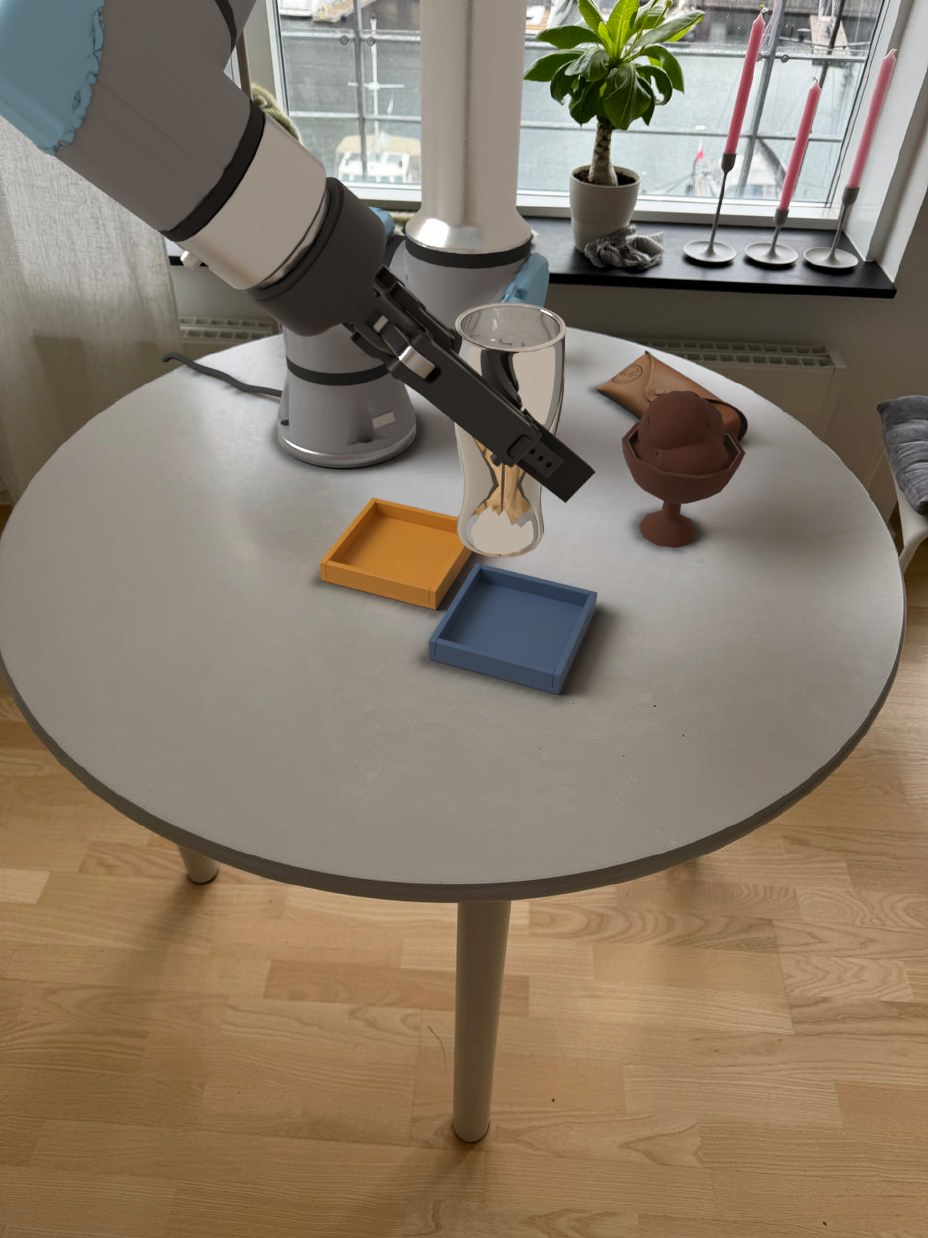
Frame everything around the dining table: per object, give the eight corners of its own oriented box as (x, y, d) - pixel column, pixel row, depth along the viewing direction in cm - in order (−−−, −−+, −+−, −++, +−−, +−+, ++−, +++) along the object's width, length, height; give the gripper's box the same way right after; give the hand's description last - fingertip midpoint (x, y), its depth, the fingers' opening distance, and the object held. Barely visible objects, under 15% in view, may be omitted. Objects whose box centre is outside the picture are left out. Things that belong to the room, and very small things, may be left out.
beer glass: (446, 505, 69) (446, 301, 59) (542, 501, 69) (559, 298, 60) (454, 565, 64) (456, 352, 54) (558, 560, 64) (579, 349, 54)
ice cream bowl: (725, 570, 89) (760, 427, 80) (605, 554, 91) (624, 412, 81) (725, 507, 97) (757, 369, 87) (614, 493, 99) (633, 356, 89)
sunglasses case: (589, 386, 115) (617, 335, 113) (625, 402, 120) (653, 352, 117) (689, 456, 104) (723, 400, 101) (725, 470, 108) (758, 417, 106)
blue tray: (428, 659, 80) (428, 640, 78) (475, 580, 88) (476, 562, 86) (558, 695, 77) (560, 676, 75) (595, 610, 85) (597, 592, 83)
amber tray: (321, 580, 87) (319, 562, 86) (373, 514, 95) (372, 497, 94) (435, 610, 84) (435, 591, 83) (479, 540, 92) (480, 522, 91)
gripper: (207, 226, 57) (462, 424, 72) (281, 377, 43) (578, 583, 58) (286, 120, 55) (531, 347, 70) (391, 242, 41) (669, 492, 56)
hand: (552, 453), depth 64 cm, fingers closed on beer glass, 7 cm apart
